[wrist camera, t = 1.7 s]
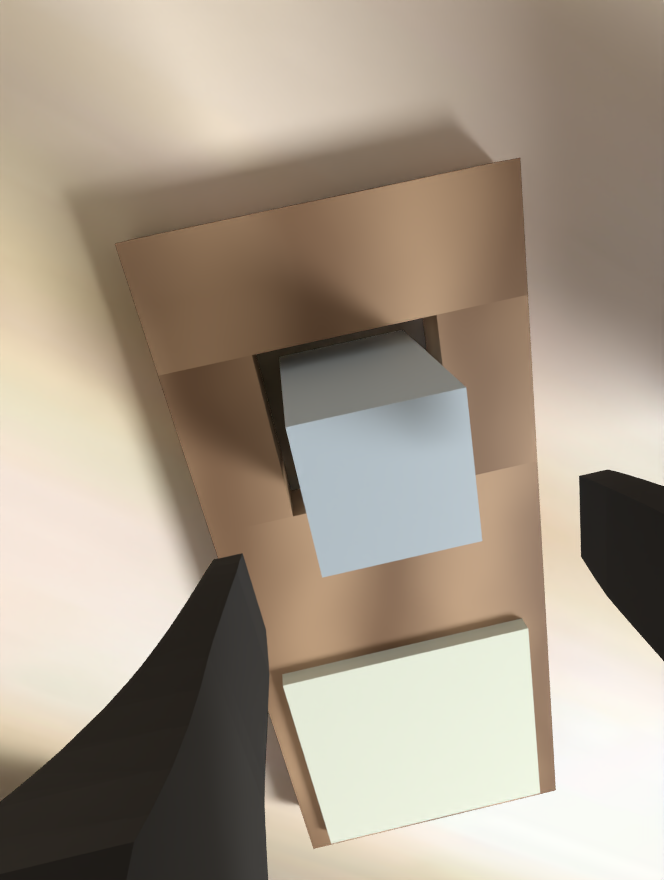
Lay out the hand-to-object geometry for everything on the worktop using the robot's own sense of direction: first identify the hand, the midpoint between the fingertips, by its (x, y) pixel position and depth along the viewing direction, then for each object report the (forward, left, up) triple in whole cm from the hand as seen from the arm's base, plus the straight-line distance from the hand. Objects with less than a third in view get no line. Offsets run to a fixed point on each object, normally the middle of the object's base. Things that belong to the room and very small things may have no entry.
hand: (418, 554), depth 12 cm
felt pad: (0, +15, -8) cm, 17 cm away
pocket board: (0, +7, -10) cm, 12 cm away
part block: (0, 0, -10) cm, 10 cm away
